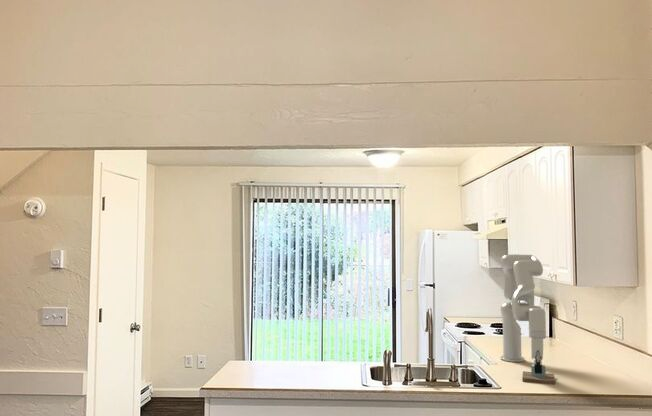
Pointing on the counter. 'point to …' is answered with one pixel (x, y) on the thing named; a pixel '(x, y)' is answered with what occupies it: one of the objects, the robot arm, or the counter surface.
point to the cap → (538, 373)
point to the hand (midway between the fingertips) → (538, 370)
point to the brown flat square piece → (529, 378)
